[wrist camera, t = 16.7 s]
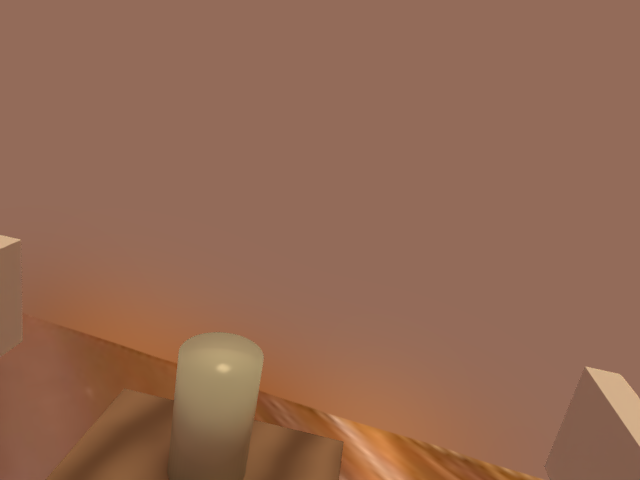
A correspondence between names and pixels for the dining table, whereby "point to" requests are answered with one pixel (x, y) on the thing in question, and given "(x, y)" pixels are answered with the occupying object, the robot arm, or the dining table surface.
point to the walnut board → (154, 441)
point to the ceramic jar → (214, 407)
